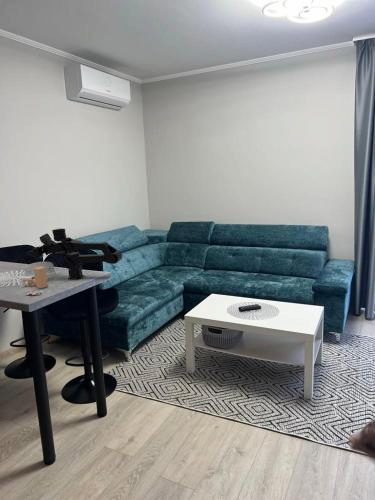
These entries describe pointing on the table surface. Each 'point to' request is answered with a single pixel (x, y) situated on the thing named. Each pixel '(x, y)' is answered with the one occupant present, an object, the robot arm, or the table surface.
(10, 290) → the table surface
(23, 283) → the keeper
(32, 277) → the pintle
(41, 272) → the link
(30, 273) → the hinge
